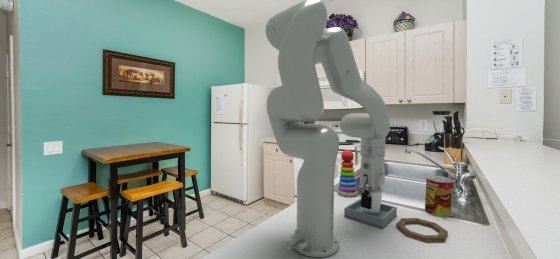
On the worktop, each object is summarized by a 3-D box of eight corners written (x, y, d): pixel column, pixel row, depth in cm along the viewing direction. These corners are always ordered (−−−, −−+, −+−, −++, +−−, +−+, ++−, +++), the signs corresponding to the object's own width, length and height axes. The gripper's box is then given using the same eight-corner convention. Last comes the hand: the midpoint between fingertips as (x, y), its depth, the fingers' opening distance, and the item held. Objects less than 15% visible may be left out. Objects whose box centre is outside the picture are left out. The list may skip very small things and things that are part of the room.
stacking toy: (355, 191, 107) (356, 149, 106) (359, 197, 100) (360, 152, 98) (336, 190, 108) (337, 148, 107) (339, 197, 100) (340, 151, 99)
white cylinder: (367, 214, 78) (368, 193, 77) (355, 206, 84) (356, 186, 84) (386, 212, 79) (387, 191, 79) (373, 204, 86) (373, 184, 85)
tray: (382, 229, 73) (383, 219, 73) (344, 216, 82) (344, 207, 81) (396, 215, 82) (396, 207, 82) (360, 205, 91) (360, 198, 91)
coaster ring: (441, 247, 63) (442, 243, 63) (391, 231, 72) (392, 227, 71) (449, 230, 72) (449, 226, 72) (404, 218, 81) (404, 214, 81)
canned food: (421, 207, 90) (422, 175, 89) (444, 209, 88) (446, 176, 88) (430, 216, 82) (432, 181, 81) (456, 218, 81) (458, 182, 80)
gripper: (373, 156, 71) (371, 216, 73) (393, 149, 84) (391, 200, 86) (349, 153, 76) (348, 209, 78) (371, 147, 89) (370, 195, 91)
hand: (370, 204), depth 82 cm, fingers closed on white cylinder, 6 cm apart
